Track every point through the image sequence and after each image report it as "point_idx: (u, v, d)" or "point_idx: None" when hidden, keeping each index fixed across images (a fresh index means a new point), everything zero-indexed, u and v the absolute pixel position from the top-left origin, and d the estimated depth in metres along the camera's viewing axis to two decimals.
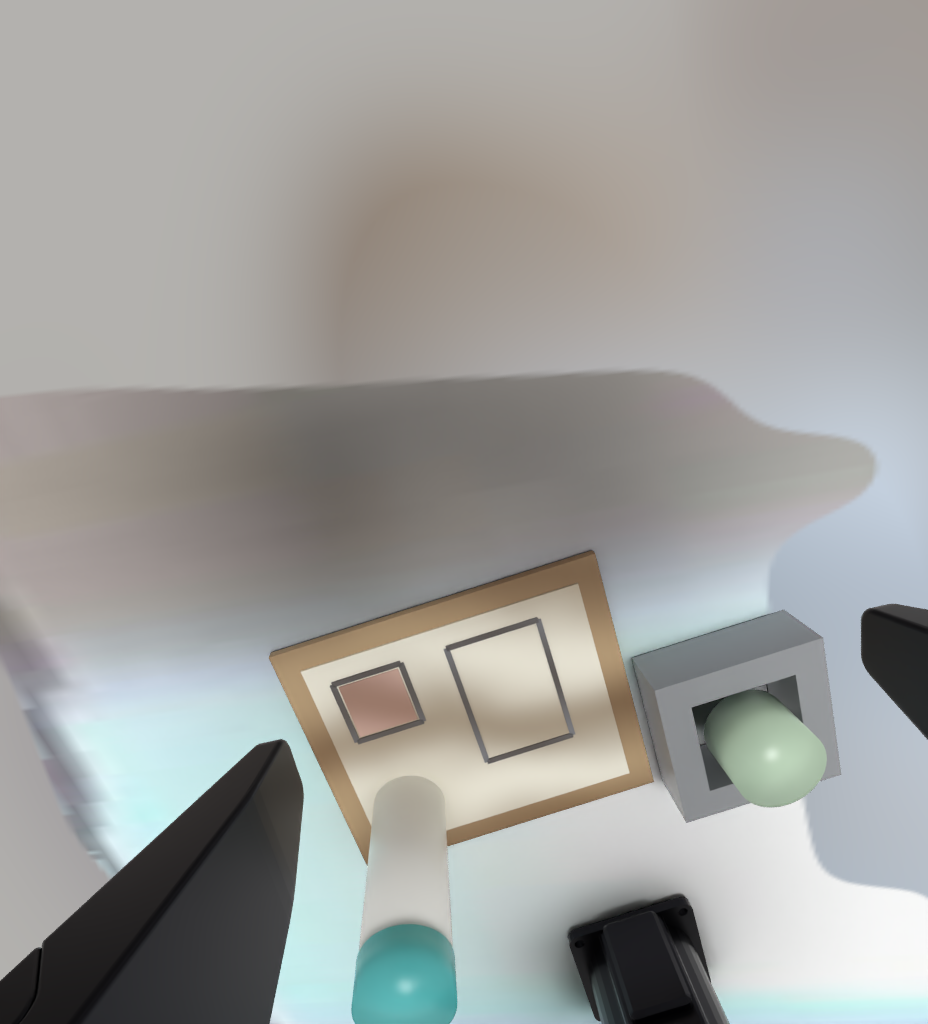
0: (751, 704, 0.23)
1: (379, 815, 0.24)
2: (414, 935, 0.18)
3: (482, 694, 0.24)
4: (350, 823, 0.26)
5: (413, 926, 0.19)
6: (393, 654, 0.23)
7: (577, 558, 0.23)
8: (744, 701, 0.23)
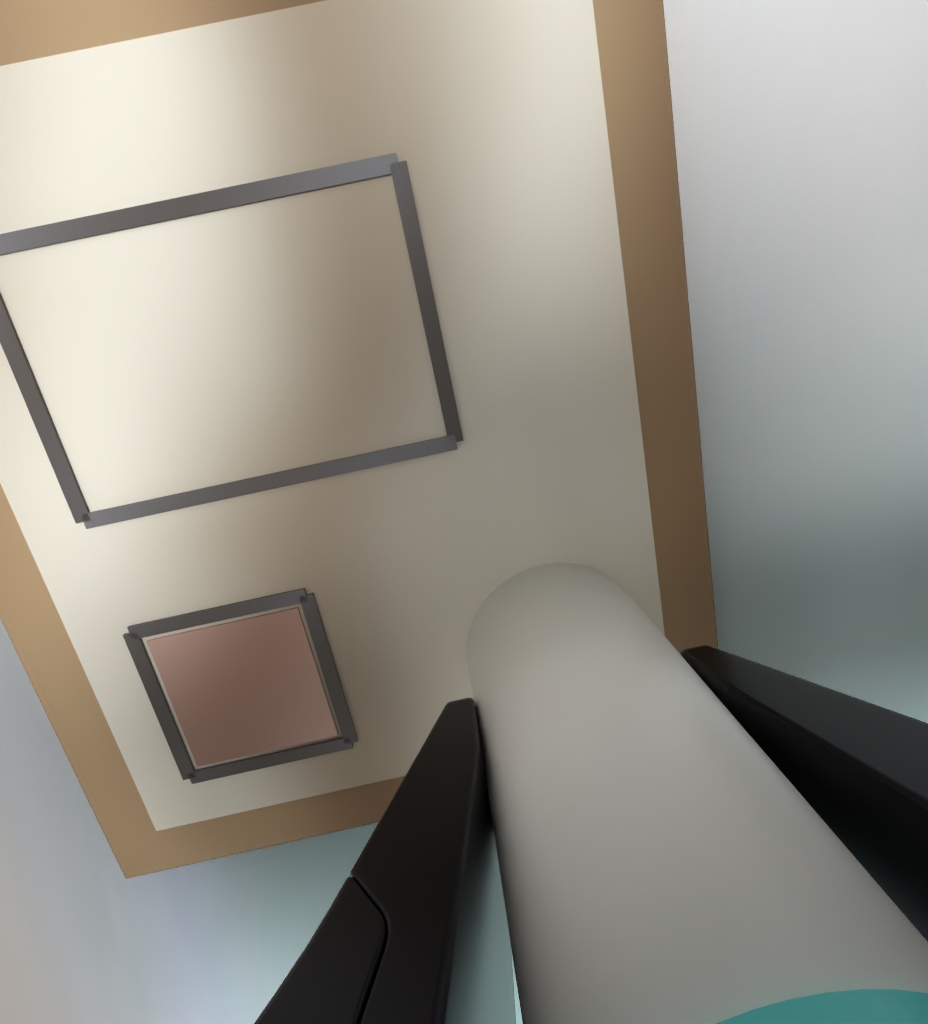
0: None
1: None
2: None
3: (234, 437, 0.09)
4: None
5: None
6: (107, 646, 0.10)
7: None
8: None
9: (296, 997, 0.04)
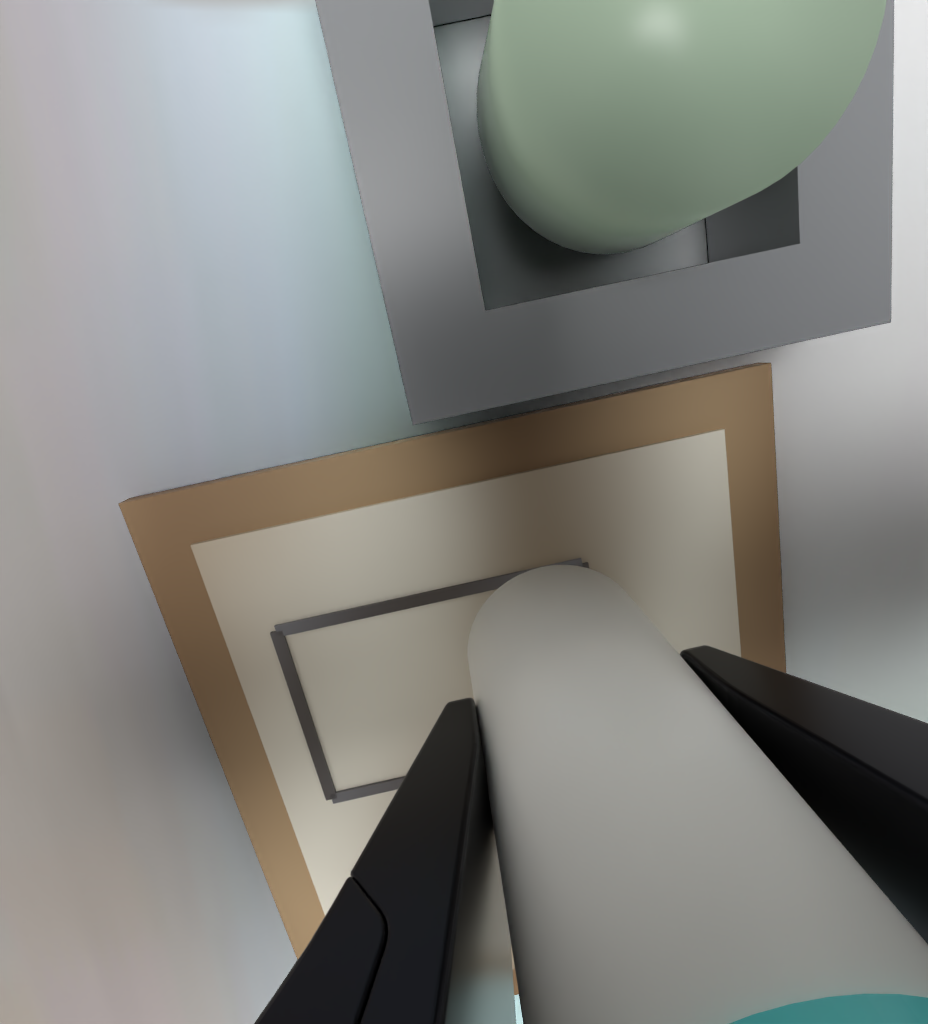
0: (486, 103, 0.07)
1: None
2: None
3: None
4: None
5: None
6: (337, 879, 0.12)
7: (135, 539, 0.10)
8: (485, 124, 0.07)
9: (296, 997, 0.04)
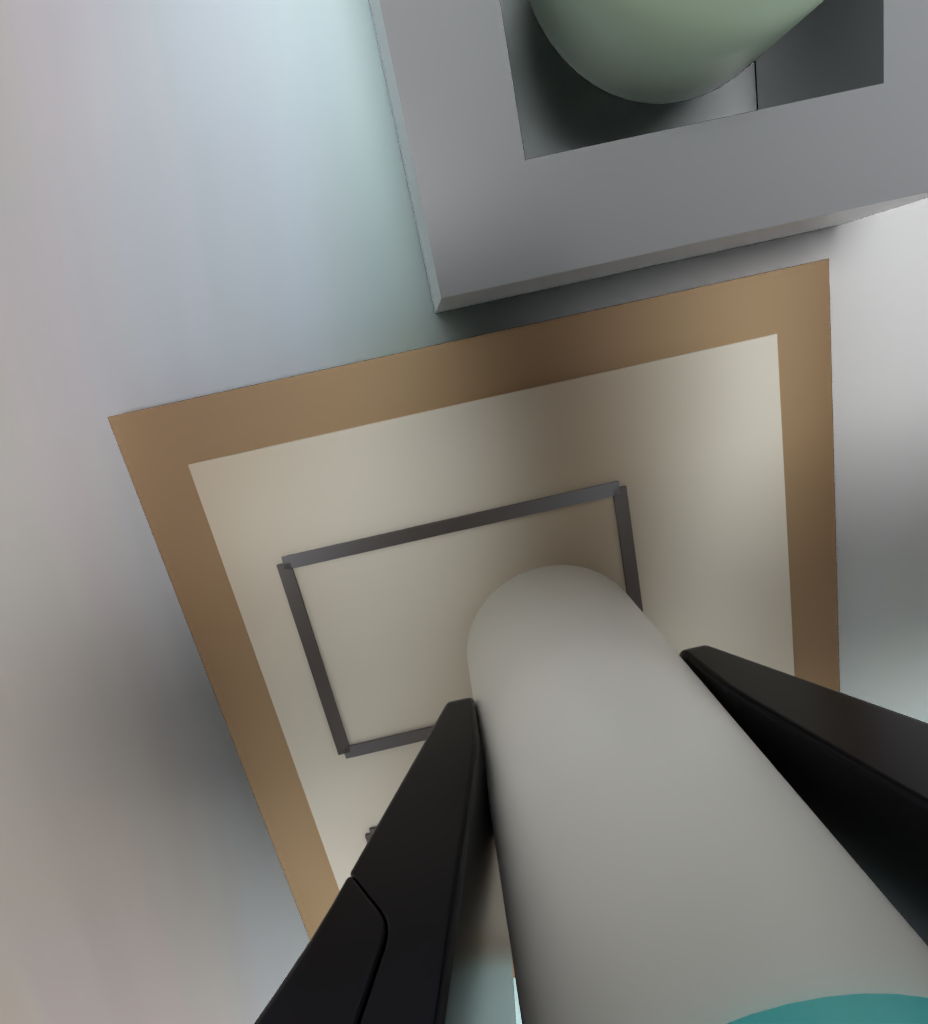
0: None
1: None
2: None
3: (469, 686, 0.11)
4: None
5: None
6: (350, 843, 0.11)
7: (126, 459, 0.09)
8: None
9: (296, 996, 0.04)
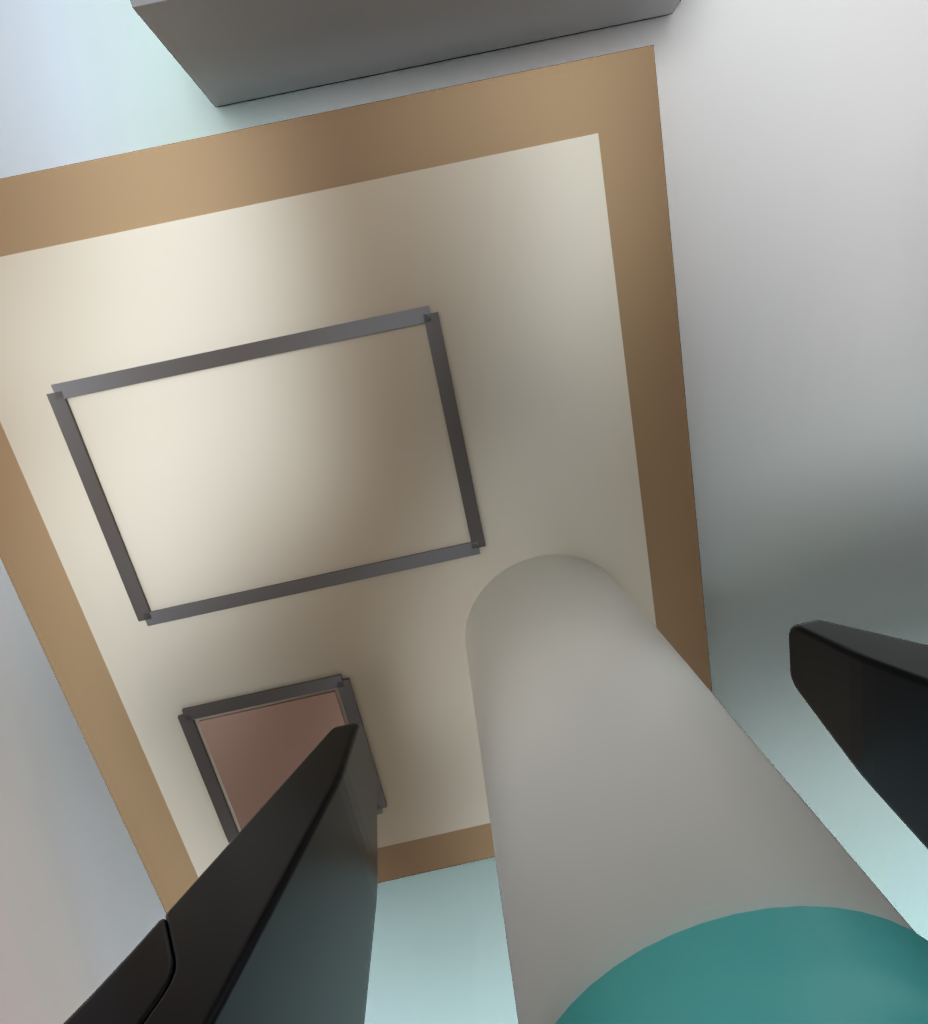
0: None
1: None
2: None
3: (280, 545, 0.10)
4: None
5: None
6: (162, 726, 0.11)
7: None
8: None
9: None
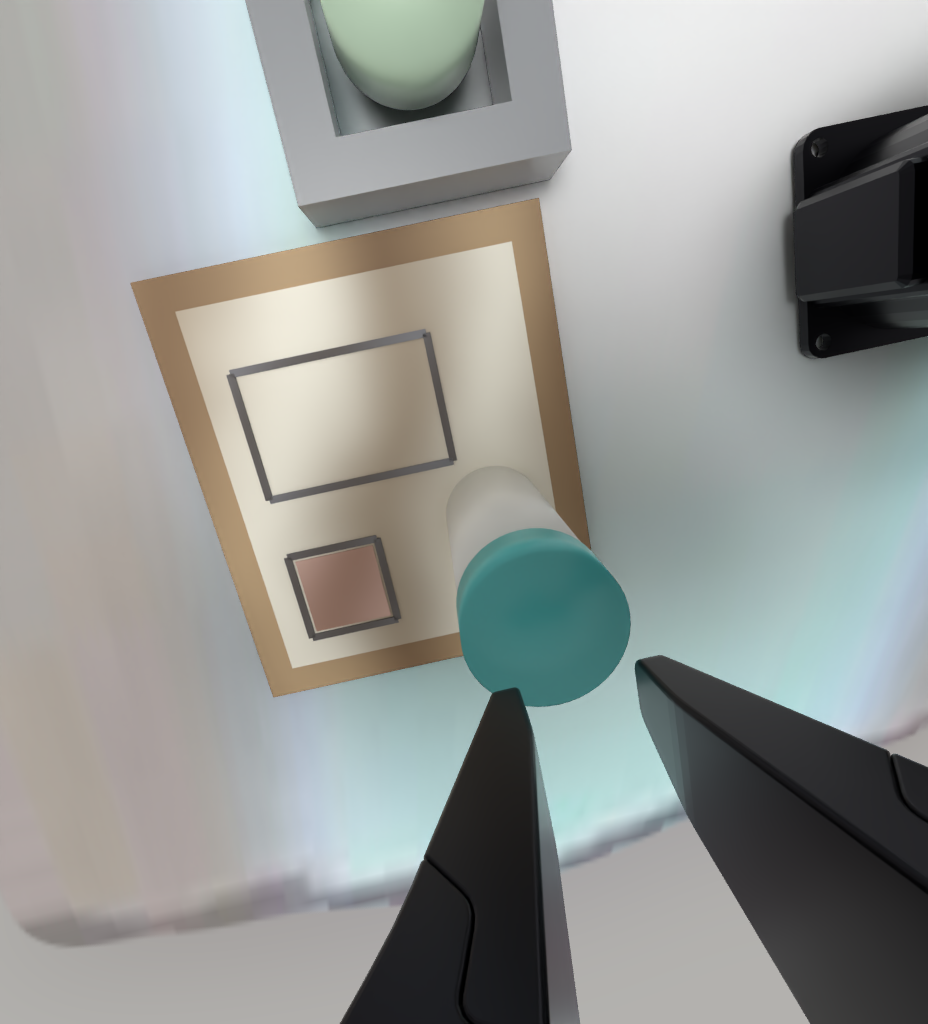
0: None
1: None
2: (461, 588, 0.12)
3: (344, 459, 0.18)
4: None
5: (464, 583, 0.12)
6: (275, 564, 0.19)
7: (140, 309, 0.16)
8: None
9: (391, 975, 0.04)
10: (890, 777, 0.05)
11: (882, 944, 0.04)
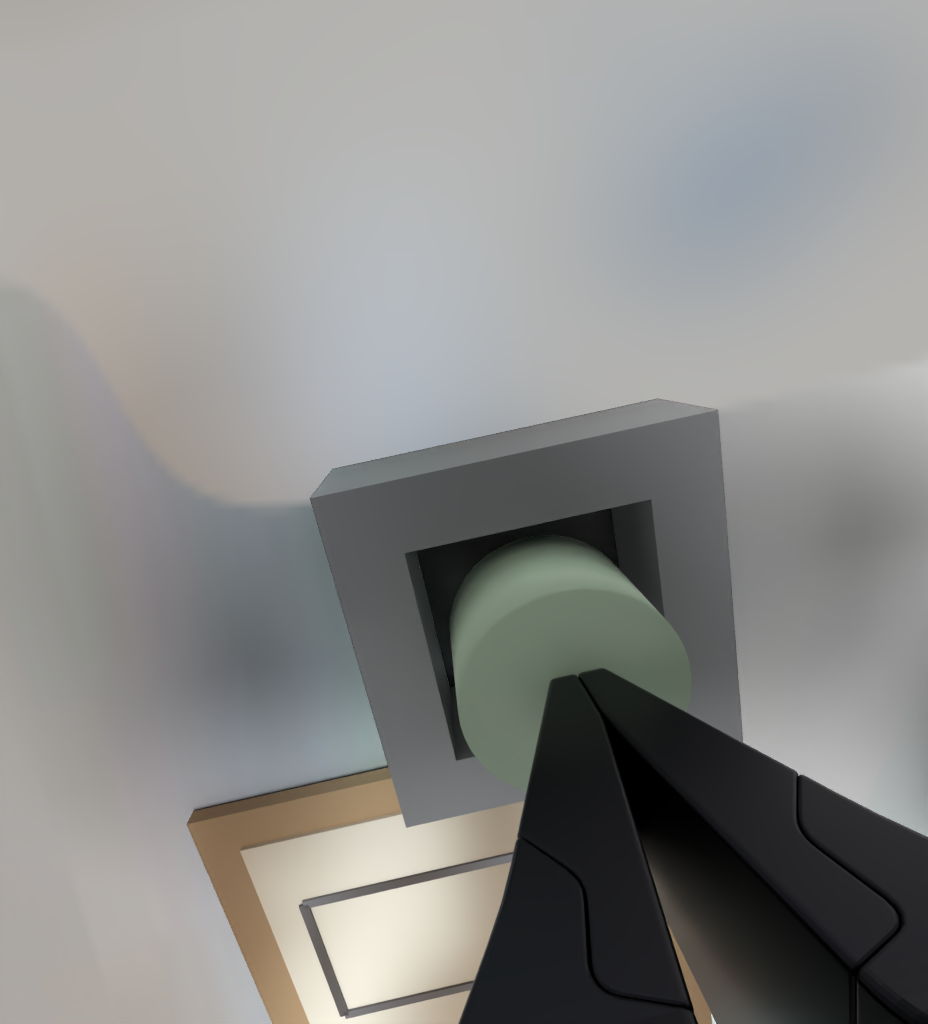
0: None
1: None
2: None
3: (434, 970, 0.15)
4: None
5: None
6: None
7: (197, 844, 0.14)
8: None
9: (513, 947, 0.04)
10: (791, 799, 0.05)
11: (772, 969, 0.04)
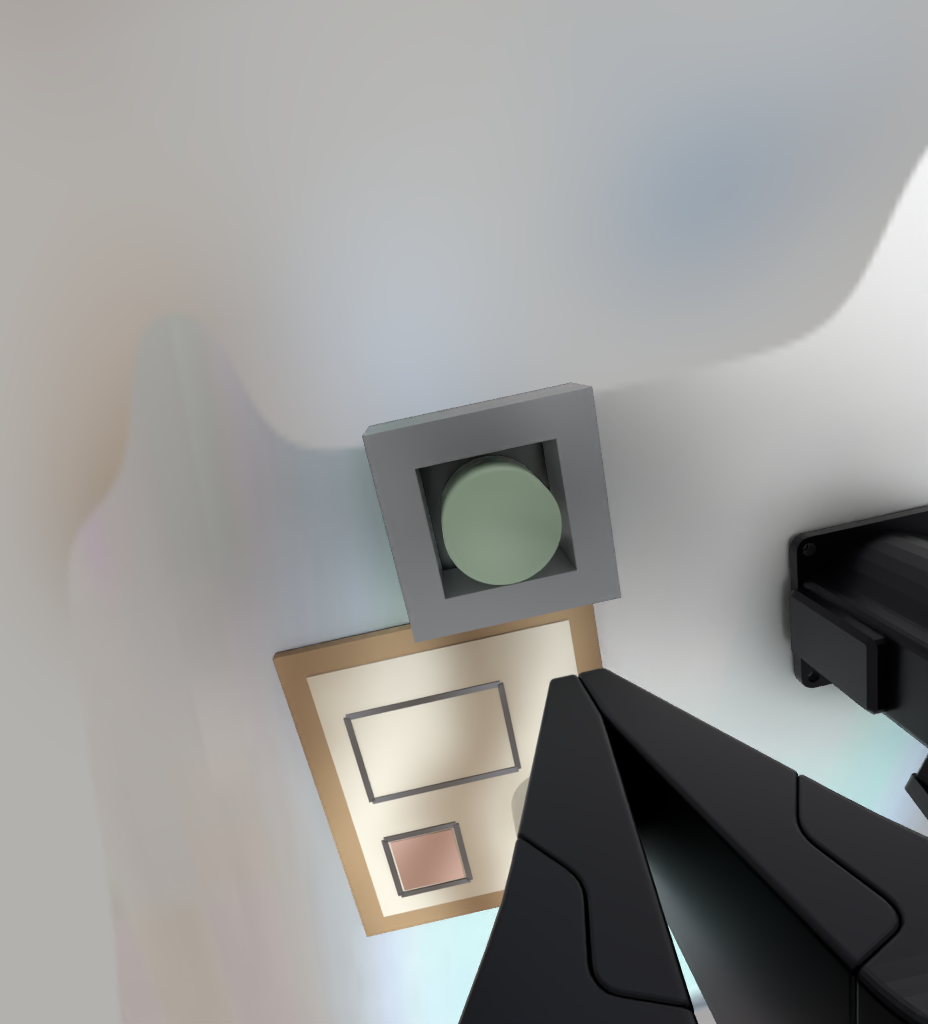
0: None
1: None
2: None
3: (432, 770, 0.22)
4: None
5: None
6: (373, 845, 0.23)
7: (278, 674, 0.21)
8: None
9: (513, 947, 0.04)
10: (791, 799, 0.05)
11: (772, 969, 0.04)
